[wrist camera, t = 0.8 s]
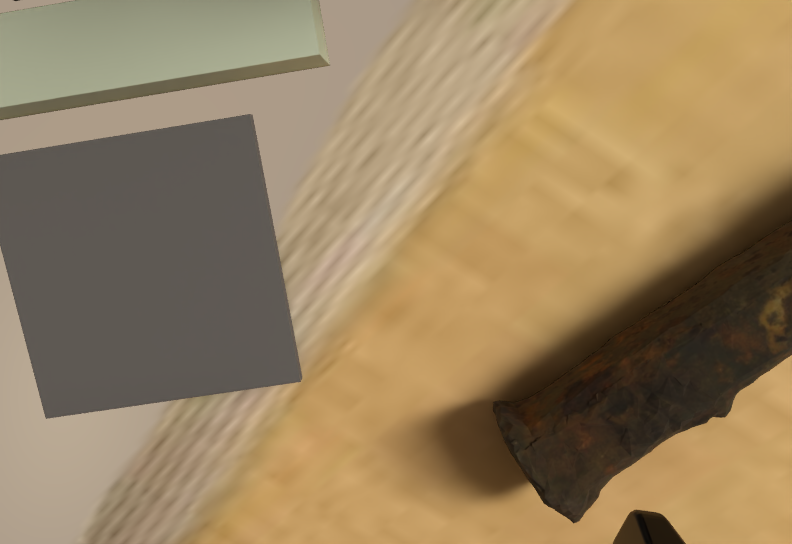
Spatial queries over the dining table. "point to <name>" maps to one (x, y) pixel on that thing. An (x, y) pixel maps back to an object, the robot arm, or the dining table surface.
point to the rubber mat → (146, 267)
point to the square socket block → (148, 48)
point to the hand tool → (655, 378)
